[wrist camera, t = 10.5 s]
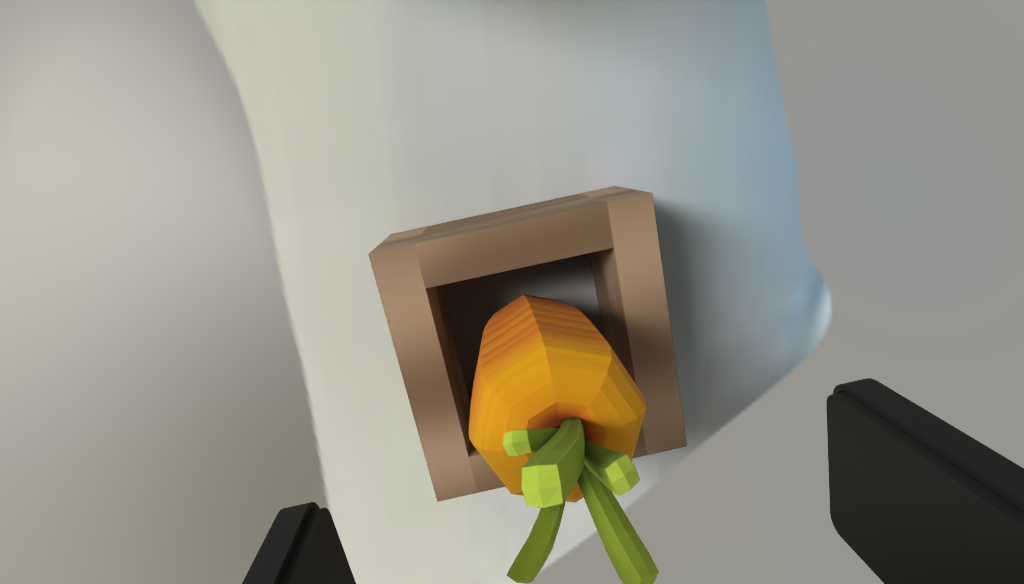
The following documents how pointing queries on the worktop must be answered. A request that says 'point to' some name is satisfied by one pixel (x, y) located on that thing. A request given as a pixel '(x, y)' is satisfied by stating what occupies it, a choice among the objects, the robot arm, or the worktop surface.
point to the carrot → (559, 427)
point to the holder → (511, 245)
